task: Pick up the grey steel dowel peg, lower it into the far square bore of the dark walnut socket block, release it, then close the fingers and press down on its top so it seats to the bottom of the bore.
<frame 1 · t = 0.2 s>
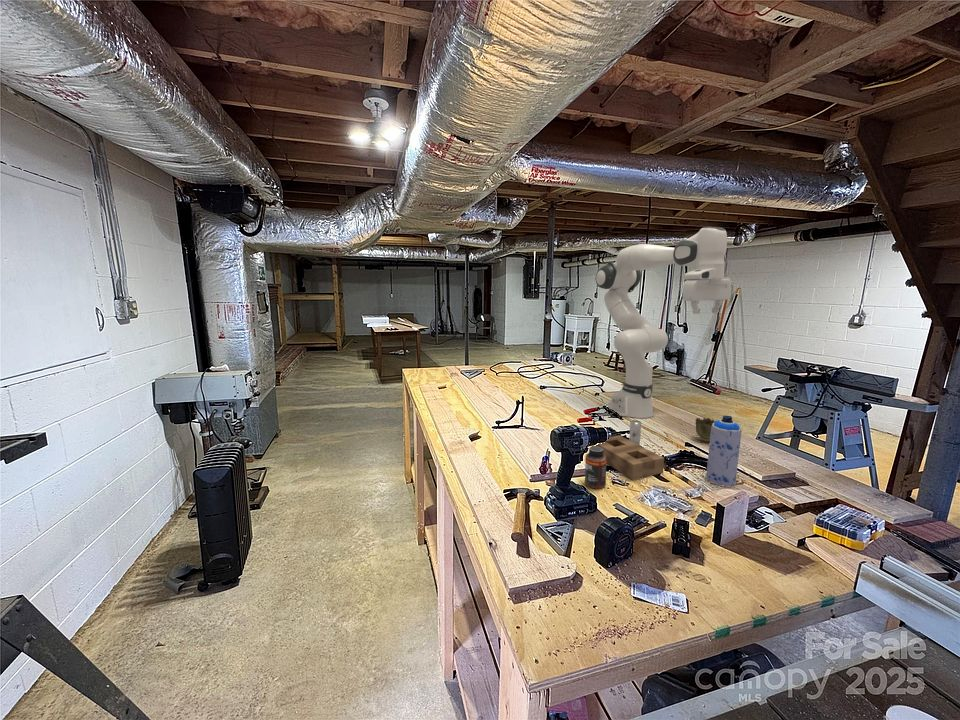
hand: (705, 313, 138), 47 cm above the workbench, fingers open, 8 cm apart
socket block: (625, 462, 126), on the workbench
cup: (704, 441, 143), on the workbench
aerosol can: (720, 480, 114), on the workbench
peg: (634, 445, 140), on the workbench
supplement bottle: (595, 485, 113), on the workbench
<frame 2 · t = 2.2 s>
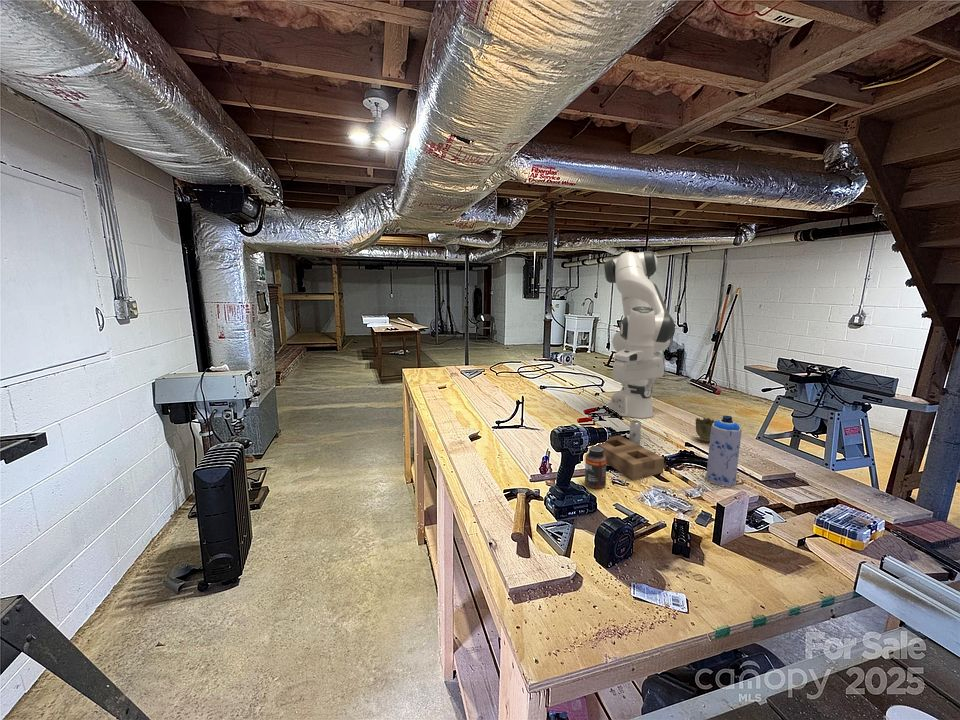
hand: (637, 391, 136), 20 cm above the workbench, fingers open, 8 cm apart
nothing on the workbench moved.
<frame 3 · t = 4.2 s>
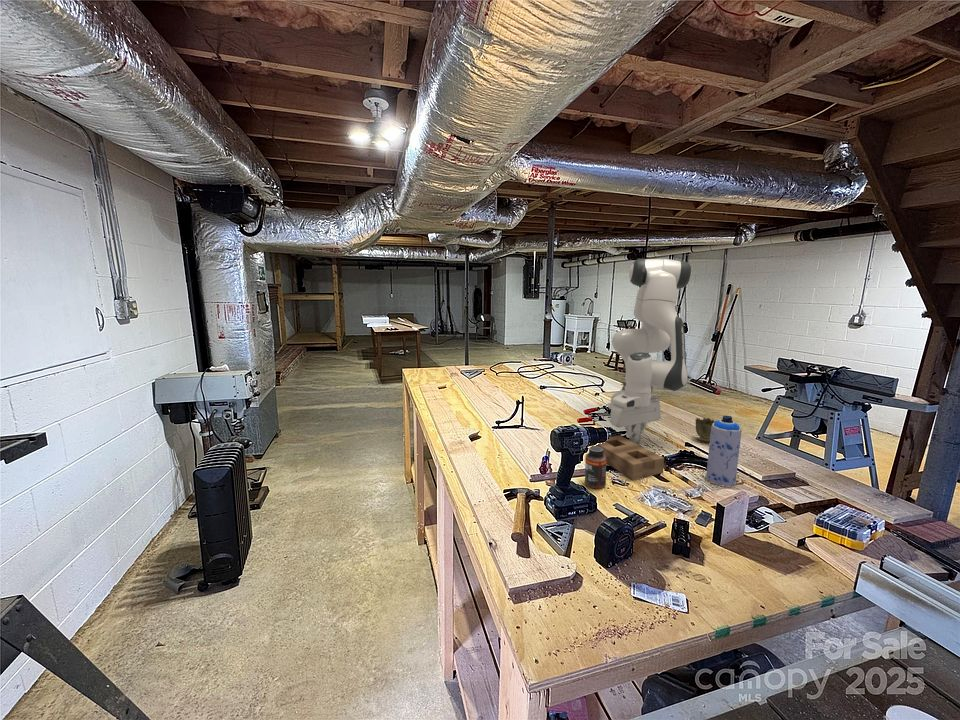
hand: (634, 434, 139), 4 cm above the workbench, fingers closed on peg, 4 cm apart
peg: (634, 445, 140), on the workbench, touching gripper
everything else where it was.
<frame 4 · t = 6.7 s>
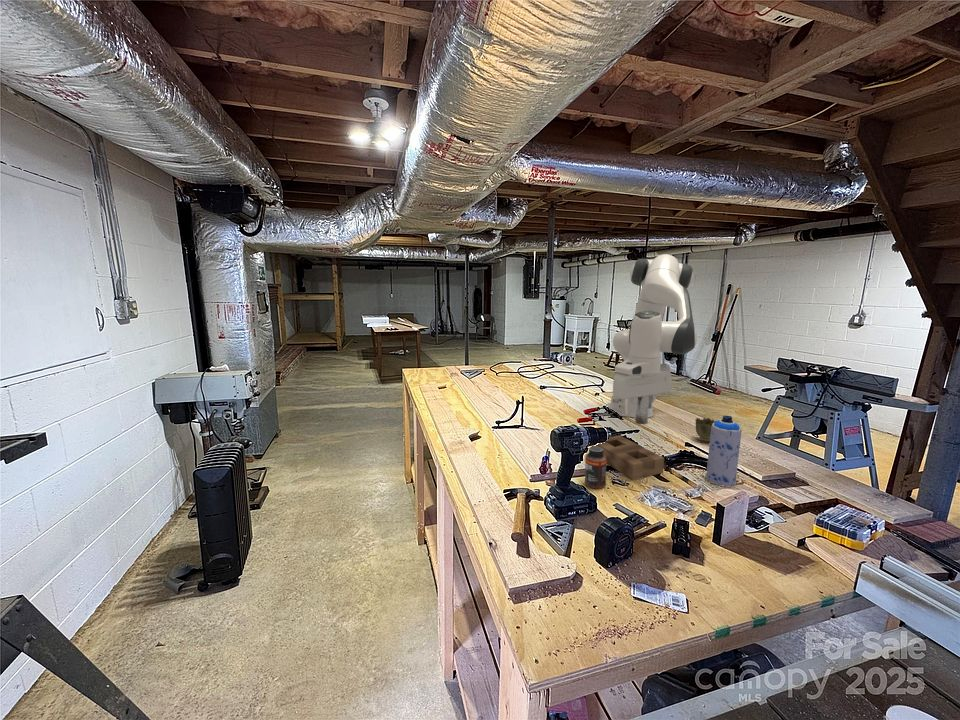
hand: (641, 409, 117), 20 cm above the workbench, fingers closed on peg, 4 cm apart
peg: (641, 422, 118), point 16 cm above the workbench, touching gripper
everything else where it was.
when the fingers open (7 cm above the workbench, at t = 8.9 s): peg drops 3 cm, resting in socket block.
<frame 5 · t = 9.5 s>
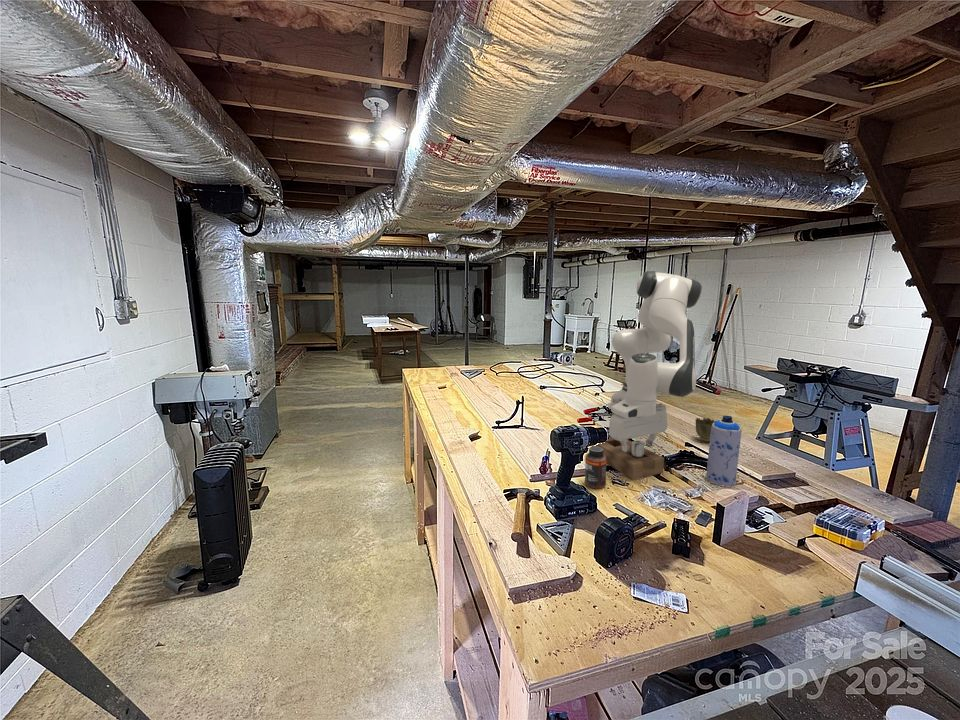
hand: (637, 448, 120), 7 cm above the workbench, fingers open, 8 cm apart
peg: (636, 469, 121), resting in socket block
everything else where it was.
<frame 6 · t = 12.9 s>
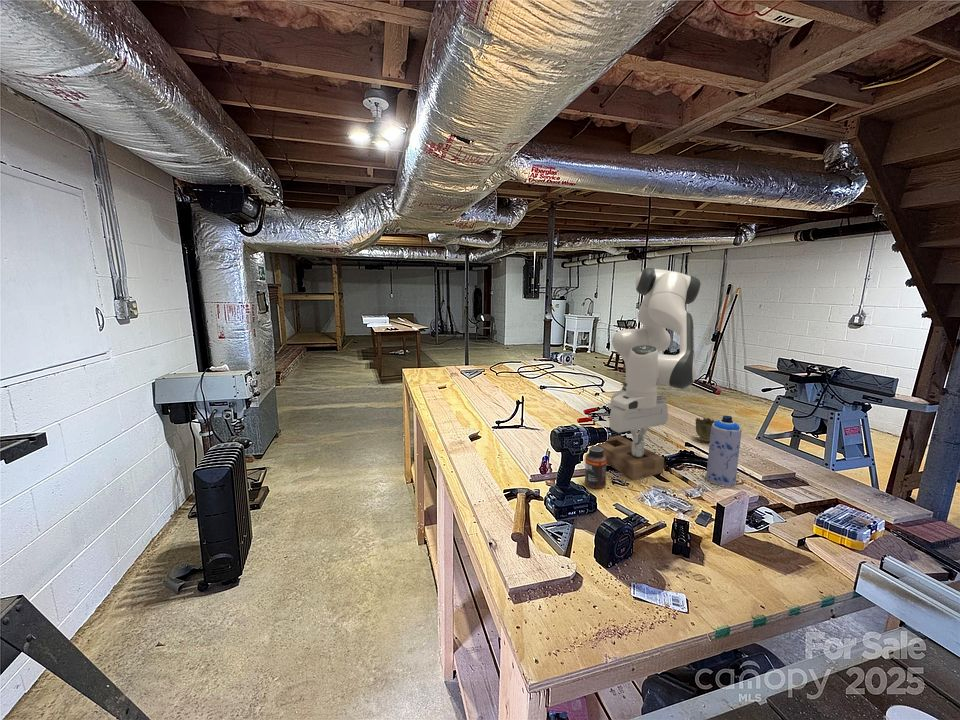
hand: (638, 441, 120), 10 cm above the workbench, fingers closed
nothing on the workbench moved.
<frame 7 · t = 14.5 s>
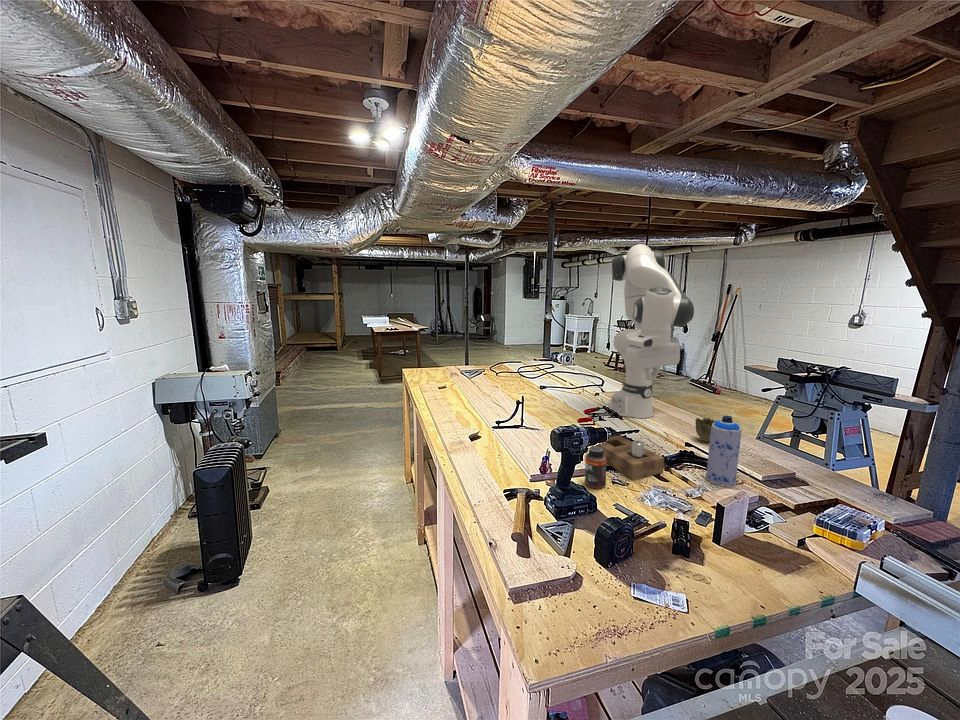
hand: (650, 379, 127), 27 cm above the workbench, fingers closed
nothing on the workbench moved.
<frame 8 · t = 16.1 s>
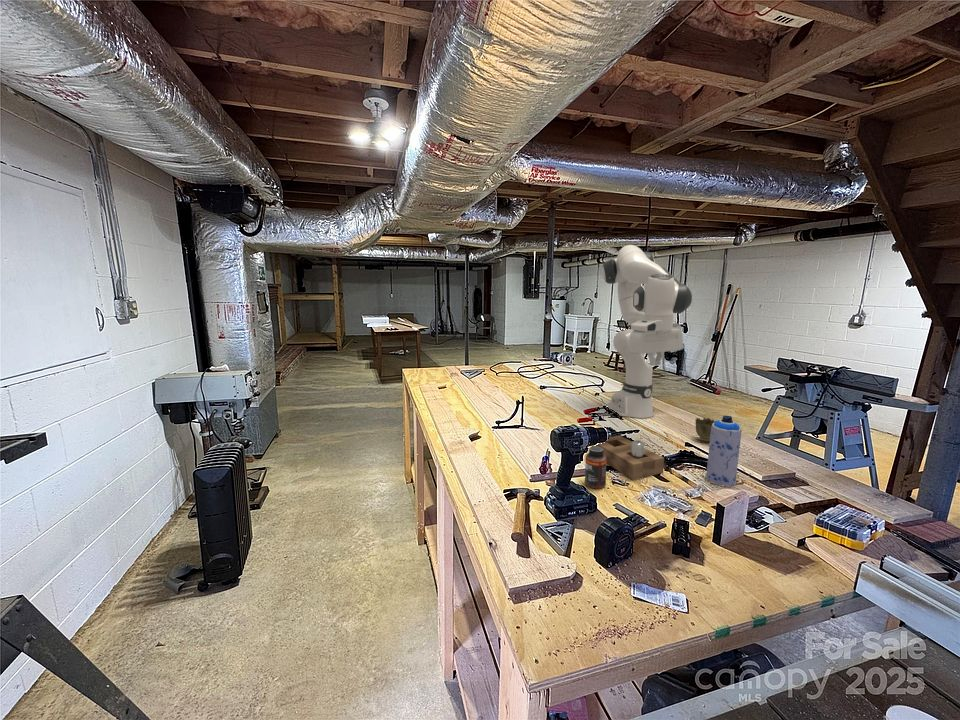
hand: (655, 365, 129), 31 cm above the workbench, fingers closed
nothing on the workbench moved.
at the end: peg 0.1 cm from the target spot on the socket block, point 0.0 cm above the socket block's base; peg tilted 0°; the gripper is holding nothing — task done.
